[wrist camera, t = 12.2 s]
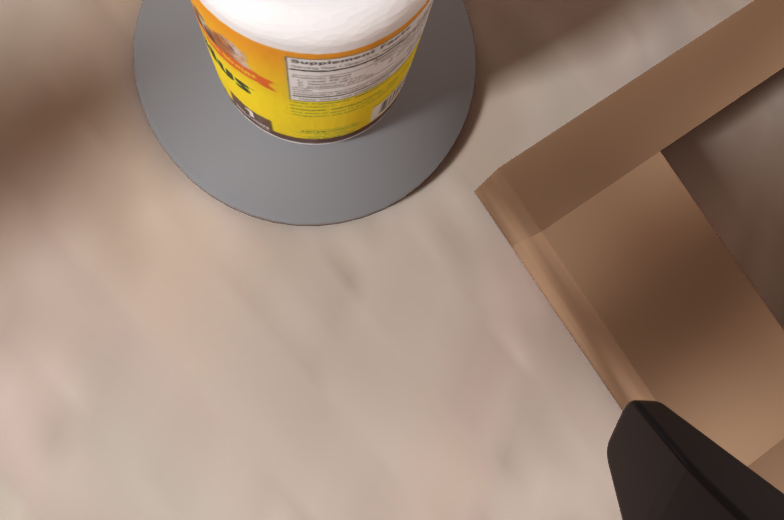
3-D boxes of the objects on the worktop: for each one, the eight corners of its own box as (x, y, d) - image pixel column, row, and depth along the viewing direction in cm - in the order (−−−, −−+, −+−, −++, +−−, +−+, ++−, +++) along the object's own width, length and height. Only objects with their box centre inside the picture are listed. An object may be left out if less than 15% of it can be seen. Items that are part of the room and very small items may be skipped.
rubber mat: (534, 112, 23) (540, 107, 22) (258, 291, 22) (257, 290, 21) (355, -151, 23) (356, -162, 23) (71, 8, 22) (65, 0, 21)
